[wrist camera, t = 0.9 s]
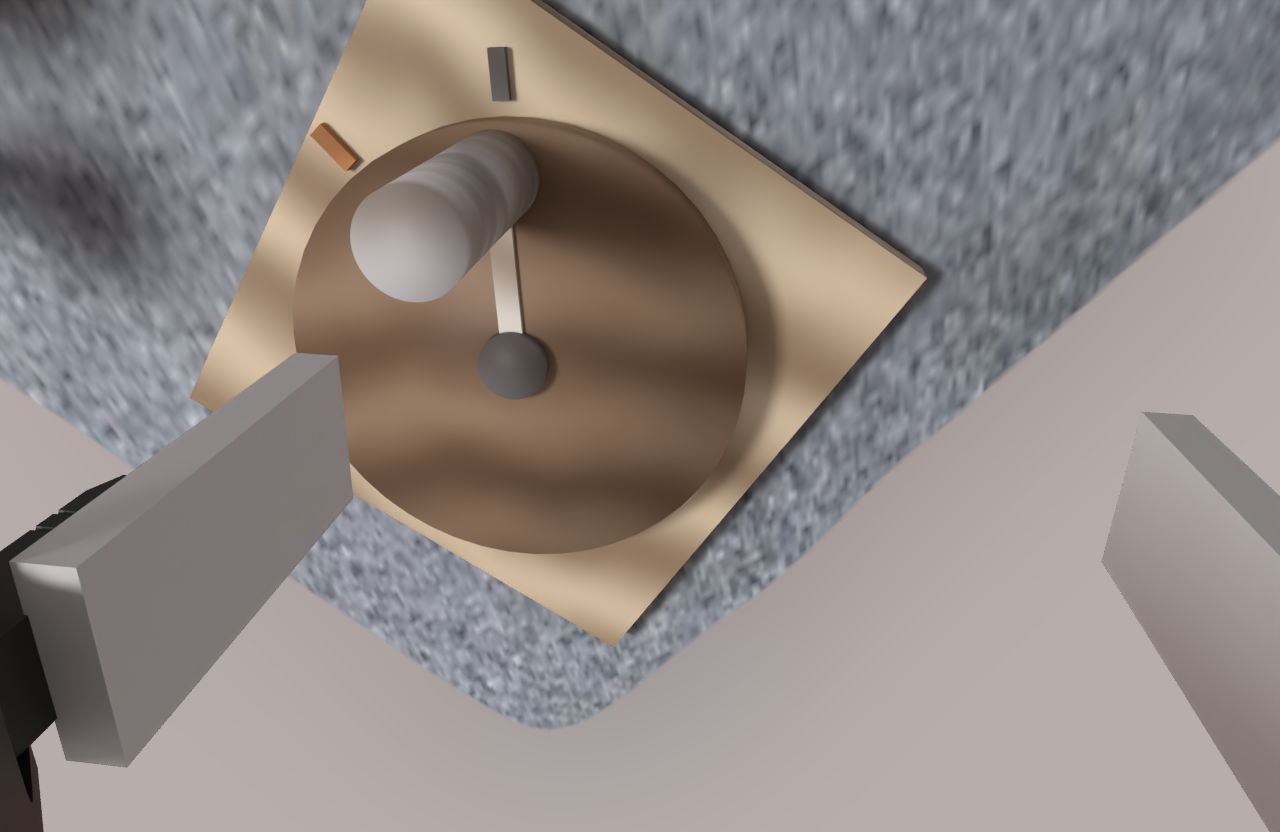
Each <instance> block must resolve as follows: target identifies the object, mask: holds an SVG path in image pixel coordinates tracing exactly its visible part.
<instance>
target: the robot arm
mask: <svg viewBox="0 0 1280 832" xmlns="http://www.w3.org/2000/svg"><path fill="white" fill-rule="evenodd" d="M352 499H353V489H352V480H351V471H350V462H349V453H348V444H347V435H346V425H345V416H344V407H343V398H342V389H341V380H340V370H339V361H338V356H335V355H320V354H306V353H294V354H293V355H291V356H290V357H288V358H287V359H286V360H284V361H283V362H282V363H280V364H279V365H277V366H276V367H275V368H273V369H272V370H271V371H269V372H268V373H267V374H265V375H264V376H262V377H261V378H260V379H258V380H257V381H256V382H254V383H253V384H251V385H250V386H249V387H247V388H246V389H245V390H243V391H242V392H240V393H239V394H238V395H236V396H235V397H234V398H232V399H231V400H230V401H228V402H227V403H225V404H224V405H223V406H221V407H220V408H219V409H217V410H216V411H214V412H213V413H212V414H210V415H209V416H208V417H206V418H205V419H203V420H202V421H201V422H199V423H198V424H197V425H195V426H194V427H193V428H191V429H190V430H188V431H187V432H186V433H184V434H183V435H182V436H180V437H179V438H177V439H176V440H175V441H173V442H172V443H171V444H169V445H168V446H166V447H165V448H164V449H162V450H161V451H160V452H158V453H157V454H155V455H154V456H153V457H151V458H150V459H149V460H147V461H146V462H145V463H143V464H142V465H140V466H139V467H138V468H136V469H135V470H134V471H132V472H131V473H130V474H128V475H122V476H120V477H117V478H115V479H113V480H110V481H108V482H106V483H103V484H101V485H99V486H96V487H94V488H92V489H89V490H87V491H85V492H84V493H82V494H81V495H79V496H78V497H76V498H75V499H74V500H72V501H71V502H69V503H68V504H67V505H65V506H64V507H63V508H61V509H60V510H59V513H58V514H52V515H51V516H50V517H48V518H47V519H46V520H44V521H43V522H41V523H40V524H38V525H37V526H36V530H35V531H34V530H30V531H28V532H27V533H26V534H24V535H23V536H21V537H20V538H19V539H17V540H16V541H14V542H13V543H11V544H10V545H9V546H7V547H6V548H4V549H3V550H2V551H0V832H43V821H42V810H41V801H40V800H41V799H40V789H39V779H38V768H37V764H36V761H35V758H34V755H33V751H32V748H31V744H32V743H33V742H34V741H35V740H36V739H37V738H38V737H39V736H40V735H41V734H42V733H43V732H44V731H45V730H46V729H47V728H48V727H49V726H50V725H51V724H52V723H53V722H54V721H55V723H56V727H57V730H58V734H59V737H60V741H61V744H62V748H63V751H64V755H65V758H66V760H67V761H76V762H85V763H93V764H102V765H110V766H118V767H128V766H129V764H130V763H131V762H132V761H133V760H134V758H135V757H136V756H137V755H138V754H139V753H140V751H141V750H142V749H143V748H144V747H145V745H146V744H147V743H148V742H149V741H150V739H151V738H152V737H153V736H154V735H155V734H156V732H157V731H158V730H159V729H160V728H161V726H162V725H163V724H164V723H165V722H166V720H167V719H168V718H169V717H170V716H171V715H172V713H173V712H174V711H175V710H176V708H177V707H178V706H179V705H180V704H181V703H182V701H183V700H184V699H185V698H186V697H187V695H188V694H189V693H190V692H191V691H192V689H193V688H194V687H195V686H196V685H197V683H198V682H199V681H200V680H201V679H202V677H203V676H204V675H205V674H206V673H207V672H208V670H209V669H210V668H211V667H212V666H213V664H214V663H215V662H216V661H217V660H218V659H219V657H220V656H221V655H222V654H223V653H224V651H225V650H226V649H227V648H228V647H229V645H230V644H231V643H232V642H233V641H234V639H235V638H236V637H237V636H238V635H239V634H240V632H241V631H242V630H243V629H244V627H245V626H246V625H247V624H248V623H249V622H250V620H251V619H252V618H253V617H254V616H255V614H256V613H257V612H258V611H259V610H260V609H261V607H262V606H263V605H264V604H265V602H266V601H267V600H268V599H269V598H270V597H271V595H272V594H273V593H274V592H275V590H276V589H277V588H278V587H279V586H280V585H281V583H282V582H283V581H284V580H285V579H286V578H287V576H288V575H289V574H290V573H291V572H292V570H293V569H294V568H295V567H296V566H297V564H298V563H299V562H300V561H301V560H302V558H303V557H304V556H305V555H306V554H307V553H308V551H309V550H310V549H311V548H312V547H313V545H314V544H315V543H316V542H317V541H318V539H319V538H320V537H321V536H322V535H323V533H324V532H325V531H326V530H327V529H328V528H329V526H330V525H331V524H332V523H333V522H334V520H335V519H336V518H337V517H338V516H339V514H340V513H341V512H342V511H343V510H344V508H345V507H346V506H347V505H348V504H349V503H350V501H351V500H352ZM1102 563H1103V565H1104V566H1105V568H1106V570H1107V571H1108V573H1109V574H1110V576H1111V577H1112V579H1113V581H1114V582H1115V584H1116V585H1117V587H1118V589H1119V590H1120V592H1121V594H1122V595H1123V597H1124V598H1125V600H1126V601H1127V603H1128V605H1129V607H1130V608H1131V610H1132V611H1133V613H1134V615H1135V616H1136V618H1137V619H1138V621H1139V622H1140V624H1141V626H1142V627H1143V629H1144V631H1145V632H1146V634H1147V635H1148V637H1149V639H1150V640H1151V642H1152V643H1153V645H1154V647H1155V648H1156V650H1157V652H1158V653H1159V655H1160V656H1161V658H1162V659H1163V661H1164V663H1165V664H1166V666H1167V668H1168V669H1169V671H1170V672H1171V674H1172V676H1173V677H1174V679H1175V680H1176V682H1177V684H1178V685H1179V687H1180V688H1181V690H1182V692H1183V693H1184V695H1185V697H1186V698H1187V700H1188V701H1189V703H1190V704H1191V706H1192V708H1193V709H1194V711H1195V713H1196V714H1197V716H1198V717H1199V719H1200V720H1201V722H1202V724H1203V725H1204V727H1205V729H1206V730H1207V732H1208V733H1209V735H1210V736H1211V738H1212V740H1213V742H1214V743H1215V745H1216V746H1217V748H1218V750H1219V751H1220V753H1221V754H1222V756H1223V757H1224V759H1225V761H1226V762H1227V764H1228V765H1229V767H1230V769H1231V770H1232V772H1233V774H1234V775H1235V777H1236V778H1237V780H1238V782H1239V783H1240V785H1241V787H1242V788H1243V790H1244V791H1245V793H1246V794H1247V796H1248V798H1249V799H1250V801H1251V802H1252V804H1253V806H1254V807H1255V809H1256V811H1257V812H1258V814H1259V815H1260V817H1261V819H1262V820H1263V822H1264V823H1265V825H1266V827H1267V828H1268V830H1269V831H1270V832H1280V496H1279V495H1278V494H1277V493H1276V492H1275V491H1274V490H1273V489H1272V488H1271V487H1269V486H1268V485H1267V484H1266V483H1265V482H1264V481H1263V480H1262V479H1261V478H1260V477H1259V476H1258V475H1257V474H1255V473H1254V472H1253V471H1252V470H1251V469H1250V468H1249V467H1248V466H1247V465H1246V464H1245V463H1244V462H1242V461H1241V460H1240V459H1239V458H1238V457H1237V456H1236V455H1235V454H1234V453H1233V452H1232V451H1231V450H1230V449H1228V448H1227V447H1226V446H1225V445H1224V444H1223V443H1222V442H1221V441H1220V440H1219V439H1218V438H1217V437H1215V435H1214V434H1212V433H1211V432H1210V431H1209V430H1208V429H1207V428H1206V427H1205V426H1204V425H1203V424H1202V423H1201V422H1199V421H1198V420H1197V419H1196V418H1195V417H1194V416H1191V415H1179V414H1164V413H1150V412H1142V414H1141V417H1140V421H1139V424H1138V428H1137V432H1136V436H1135V439H1134V443H1133V447H1132V450H1131V454H1130V458H1129V462H1128V465H1127V469H1126V473H1125V476H1124V480H1123V484H1122V488H1121V491H1120V495H1119V499H1118V502H1117V507H1116V510H1115V514H1114V517H1113V521H1112V525H1111V529H1110V533H1109V536H1108V540H1107V543H1106V547H1105V551H1104V555H1103V558H1102Z"/></svg>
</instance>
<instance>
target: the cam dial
mask: <svg viewBox="0 0 1280 832" xmlns="http://www.w3.org/2000/svg"><path fill="white" fill-rule="evenodd" d="M293 328H294V339H295V345H296V352H297V353H306V354H320V355H335V356H338V361H339V370H340V380H341V389H342V398H343V407H344V416H345V425H346V435H347V444H348V453H349V462H350V463H351V465H352V466H353V467H354V468H355V469H356V470H357V471H358V472H359V473H360V474H361V476H362V477H363V478H364V479H365V480H366V481H367V482H369V483H370V484H371V485H372V486H373V487H374V488H375V489H376V490H378V491H379V492H380V493H381V494H382V495H383V496H384V497H385V498H387V499H388V500H390V501H391V502H392V503H394V504H395V505H397V506H398V507H399V508H401V509H402V510H404V511H405V512H406V513H408V514H410V515H411V516H413V517H415V518H417V519H418V520H420V521H422V522H424V523H425V524H427V525H429V526H431V527H433V528H435V529H437V530H440V531H442V532H444V533H446V534H449V535H451V536H453V537H456V538H458V539H461V540H464V541H468V542H471V543H474V544H477V545H480V546H484V547H489V548H494V549H498V550H503V551H508V552H518V553H529V554H563V553H571V552H579V551H586V550H591V549H595V548H599V547H603V546H607V545H610V544H614V543H616V542H619V541H622V540H624V539H627V538H629V537H632V536H634V535H637V534H639V533H641V532H642V531H644V530H646V529H648V528H650V527H652V526H653V525H655V524H657V523H659V522H661V521H662V520H663V519H665V518H666V517H667V516H669V515H670V514H671V513H673V512H674V511H676V510H677V509H678V508H680V507H681V506H682V505H683V504H684V503H685V502H686V501H687V500H688V499H689V498H690V497H691V496H692V495H693V494H694V493H695V492H696V491H697V490H698V489H699V488H700V487H701V486H702V485H703V483H704V482H705V481H706V479H707V478H708V477H709V476H710V474H711V473H712V472H713V470H714V469H715V468H716V466H717V464H718V462H719V461H720V459H721V457H722V455H723V454H724V452H725V450H726V448H727V447H728V445H729V442H730V440H731V437H732V434H733V432H734V429H735V427H736V424H737V422H738V418H739V414H740V410H741V406H742V401H743V397H744V391H745V379H746V367H747V350H748V345H747V328H746V317H745V312H744V307H743V302H742V297H741V292H740V289H739V286H738V283H737V280H736V277H735V274H734V271H733V269H732V266H731V263H730V261H729V259H728V257H727V255H726V253H725V251H724V249H723V247H722V245H721V243H720V241H719V239H718V237H717V235H716V234H715V233H714V231H713V230H712V228H711V227H710V225H709V224H708V222H707V221H706V219H705V218H704V216H703V215H702V214H701V212H700V211H699V209H698V208H697V207H696V206H695V205H694V204H693V203H692V202H691V201H690V199H689V198H688V197H687V196H686V195H685V194H684V193H683V192H682V191H681V189H680V188H679V187H678V186H677V185H676V184H674V183H673V182H672V181H671V180H670V179H669V178H667V177H666V176H665V175H664V174H663V173H662V172H660V171H659V170H658V169H657V168H656V167H655V166H653V165H652V164H650V163H649V162H647V161H646V160H644V159H643V158H641V157H640V156H638V155H637V154H635V153H634V152H632V151H630V150H629V149H627V148H626V147H624V146H622V145H620V144H617V143H615V142H613V141H611V140H609V139H607V138H605V137H603V136H601V135H599V134H597V133H594V132H591V131H588V130H585V129H581V128H578V127H575V126H572V125H569V124H566V123H561V122H556V121H550V120H545V119H540V118H533V117H512V116H498V117H488V118H477V119H470V120H466V121H462V122H457V123H453V124H449V125H445V126H442V127H439V128H437V129H434V130H432V131H429V132H427V133H424V134H422V135H419V136H417V137H415V138H413V139H411V140H409V141H407V142H405V143H403V144H401V145H399V146H397V147H395V148H394V149H392V150H390V151H388V152H387V153H385V154H383V155H382V156H380V157H378V158H377V159H375V160H373V161H372V162H371V163H369V164H368V165H367V166H366V167H365V168H363V169H362V170H361V171H360V172H358V173H357V174H356V175H355V176H354V177H352V178H351V179H350V180H349V181H348V182H347V183H346V184H345V186H344V187H343V188H342V189H341V190H340V191H339V192H338V193H337V195H336V196H335V197H334V198H333V199H332V200H331V201H330V203H329V204H328V206H327V208H326V209H325V211H324V212H323V214H322V215H321V217H320V218H319V220H318V222H317V223H316V225H315V227H314V229H313V231H312V233H311V236H310V238H309V240H308V243H307V245H306V247H305V249H304V252H303V256H302V259H301V263H300V267H299V270H298V274H297V278H296V286H295V294H294V302H293Z"/></svg>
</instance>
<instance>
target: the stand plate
mask: <svg viewBox="0 0 1280 832" xmlns="http://www.w3.org/2000/svg"><path fill="white" fill-rule="evenodd" d="M498 116H512V117H533V118H540V119H545V120H550V121H556V122H561V123H566V124H569V125H572V126H575V127H578V128H581V129H585V130H588V131H591V132H594V133H597V134H599V135H601V136H603V137H605V138H607V139H609V140H611V141H613V142H615V143H617V144H620V145H622V146H624V147H626V148H627V149H629V150H630V151H632V152H634V153H635V154H637V155H638V156H640V157H641V158H643V159H644V160H646V161H647V162H649V163H650V164H652V165H653V166H655V167H656V168H657V169H658V170H659V171H660V172H662V173H663V174H664V175H665V176H666V177H667V178H669V179H670V180H671V181H672V182H673V183H674V184H676V185H677V186H678V187H679V188H680V189H681V191H682V192H683V193H684V194H685V195H686V196H687V197H688V198H689V199H690V201H691V202H692V203H693V204H694V205H695V206H696V207H697V208H698V209H699V211H700V212H701V214H702V215H703V216H704V218H705V219H706V221H707V222H708V224H709V225H710V227H711V228H712V230H713V231H714V233H715V234H716V235H717V237H718V239H719V241H720V243H721V245H722V247H723V249H724V251H725V253H726V255H727V257H728V259H729V261H730V263H731V266H732V269H733V271H734V274H735V277H736V280H737V283H738V286H739V289H740V292H741V297H742V302H743V307H744V312H745V317H746V328H747V345H748V350H747V367H746V379H745V391H744V397H743V401H742V406H741V410H740V414H739V418H738V422H737V424H736V427H735V429H734V432H733V434H732V437H731V440H730V442H729V445H728V447H727V448H726V450H725V452H724V454H723V455H722V457H721V459H720V461H719V462H718V464H717V466H716V468H715V469H714V470H713V472H712V473H711V474H710V476H709V477H708V478H707V479H706V481H705V482H704V483H703V485H702V486H701V487H700V488H699V489H698V490H697V491H696V492H695V493H694V494H693V495H692V496H691V497H690V498H689V499H688V500H687V501H686V502H685V503H684V504H683V505H682V506H681V507H680V508H678V509H677V510H676V511H674V512H673V513H671V514H670V515H669V516H667V517H666V518H665V519H663V520H662V521H661V522H659V523H657V524H655V525H653V526H652V527H650V528H648V529H646V530H644V531H642V532H641V533H639V534H637V535H634V536H632V537H629V538H627V539H624V540H622V541H619V542H616V543H614V544H610V545H607V546H603V547H599V548H595V549H591V550H586V551H579V552H571V553H563V554H529V553H518V552H508V551H503V550H498V549H494V548H489V547H484V546H480V545H477V544H474V543H471V542H468V541H464V540H461V539H458V538H456V537H453V536H451V535H449V534H446V533H444V532H442V531H440V530H437V529H435V528H433V527H431V526H429V525H427V524H425V523H424V522H422V521H420V520H418V519H417V518H415V517H413V516H411V515H410V514H408V513H406V512H405V511H404V510H402V509H401V508H399V507H398V506H397V505H395V504H394V503H392V502H391V501H390V500H388V499H387V498H385V497H384V496H383V495H382V494H381V493H380V492H379V491H378V490H376V489H375V488H374V487H373V486H372V485H371V484H370V483H369V482H367V481H366V480H365V479H364V478H363V477H362V476H361V474H360V473H359V472H358V471H357V470H356V469H355V468H354V467H353V466H352V465H351V463H350V471H351V480H352V489H353V494H354V495H356V496H358V497H359V498H361V499H363V500H365V501H366V502H368V503H370V504H371V505H373V506H375V507H376V508H378V509H380V510H381V511H383V512H385V513H387V514H388V515H390V516H392V517H393V518H395V519H397V520H398V521H400V522H402V523H404V524H405V525H407V526H409V527H410V528H412V529H414V530H415V531H417V532H419V533H421V534H422V535H424V536H426V537H427V538H429V539H431V540H432V541H434V542H436V543H437V544H439V545H441V546H443V547H444V548H446V549H448V550H449V551H451V552H453V553H454V554H456V555H458V556H460V557H461V558H463V559H465V560H466V561H468V562H470V563H471V564H473V565H475V566H476V567H478V568H480V569H482V570H483V571H485V572H487V573H488V574H490V575H492V576H493V577H495V578H497V579H499V580H500V581H502V582H504V583H505V584H507V585H509V586H510V587H512V588H514V589H516V590H517V591H519V592H521V593H522V594H524V595H526V596H527V597H529V598H531V599H532V600H534V601H536V602H538V603H539V604H541V605H543V606H544V607H546V608H548V609H549V610H551V611H553V612H555V613H556V614H558V615H560V616H561V617H563V618H565V619H566V620H568V621H570V622H572V623H573V624H575V625H577V626H578V627H580V628H582V629H583V630H585V631H587V632H588V633H590V634H592V635H594V636H595V637H597V638H599V639H600V640H602V641H604V642H605V643H607V644H609V645H611V646H612V647H614V646H615V645H616V643H617V642H618V641H619V640H620V639H621V638H622V636H623V635H624V634H625V633H626V632H627V631H628V629H629V628H630V627H631V626H632V625H633V623H634V622H635V621H636V620H637V619H638V618H639V616H640V615H641V614H642V613H643V612H644V611H645V609H646V608H647V607H648V606H649V605H650V603H651V602H652V601H653V600H654V599H655V598H656V596H657V595H658V594H659V593H660V592H661V591H662V589H663V588H664V587H665V586H666V585H667V583H668V582H669V581H670V580H671V579H672V578H673V576H674V575H675V574H676V573H677V572H678V571H679V569H680V568H681V567H682V566H683V565H684V563H685V562H686V561H687V560H688V559H689V558H690V556H691V555H692V554H693V553H694V552H695V551H696V549H697V548H698V547H699V546H700V545H701V543H702V542H703V541H704V540H705V539H706V538H707V536H708V535H709V534H710V533H711V532H712V531H713V529H714V528H715V527H716V526H717V525H718V524H719V522H720V521H721V520H722V519H723V518H724V516H725V515H726V514H727V513H728V512H729V511H730V509H731V508H732V507H733V506H734V505H735V504H736V502H737V501H738V500H739V499H740V498H741V496H742V495H743V494H744V493H745V492H746V491H747V489H748V488H749V487H750V486H751V485H752V484H753V482H754V481H755V480H756V479H757V478H758V476H759V475H760V474H761V473H762V472H763V471H764V469H765V468H766V467H767V466H768V465H769V464H770V462H771V461H772V460H773V459H774V458H775V456H776V455H777V454H778V453H779V452H780V451H781V449H782V448H783V447H784V446H785V445H786V444H787V442H788V441H789V440H790V439H791V438H792V436H793V435H794V434H795V433H796V432H797V431H798V429H799V428H800V427H801V426H802V425H803V424H804V422H805V421H806V420H807V419H808V418H809V416H810V415H811V414H812V413H813V412H814V411H815V409H816V408H817V407H818V406H819V405H820V404H821V402H822V401H823V400H824V399H825V398H826V396H827V395H828V394H829V393H830V392H831V391H832V389H833V388H834V387H835V386H836V385H837V384H838V382H839V381H840V380H841V379H842V378H843V376H844V375H845V374H846V373H847V372H848V371H849V369H850V368H851V367H852V366H853V365H854V364H855V362H856V361H857V360H858V359H859V358H860V356H861V355H862V354H863V353H864V352H865V351H866V349H867V348H868V347H869V346H870V345H871V344H872V342H873V341H874V340H875V339H876V338H877V336H878V335H879V334H880V333H881V332H882V331H883V329H884V328H885V327H886V326H887V325H888V324H889V322H890V321H891V320H892V319H893V318H894V316H895V315H896V314H897V313H898V312H899V311H900V309H901V308H902V307H903V306H904V305H905V304H906V302H907V301H908V300H909V299H910V298H911V296H912V295H913V294H914V293H915V292H916V291H917V289H918V288H919V287H920V286H921V285H922V284H923V282H924V281H925V280H926V279H927V277H926V275H925V273H924V271H923V269H922V267H920V266H919V265H917V264H916V263H914V262H913V261H912V260H910V259H909V258H907V257H906V256H904V255H903V254H902V253H900V252H899V251H897V250H896V249H895V248H893V247H892V246H890V245H889V244H887V243H886V242H885V241H883V240H882V239H880V238H879V237H877V236H876V235H875V234H873V233H872V232H870V231H869V230H867V229H866V228H865V227H863V226H862V225H860V224H859V223H857V222H856V221H855V220H853V219H852V218H850V217H849V216H848V215H846V214H845V213H843V212H842V211H840V210H839V209H838V208H836V207H835V206H833V205H832V204H830V203H829V202H828V201H826V200H825V199H823V198H822V197H820V196H819V195H818V194H816V193H815V192H813V191H812V190H810V189H809V188H808V187H806V186H805V185H803V184H802V183H800V182H799V181H798V180H796V179H795V178H793V177H792V176H791V175H789V174H788V173H786V172H785V171H783V170H782V169H781V168H779V167H778V166H776V165H775V164H773V163H772V162H771V161H769V160H768V159H766V158H765V157H763V156H762V155H761V154H759V153H758V152H756V151H755V150H753V149H752V148H751V147H749V146H748V145H746V144H745V143H743V142H742V141H741V140H739V139H738V138H736V137H735V136H734V135H732V134H731V133H729V132H728V131H726V130H725V129H724V128H722V127H721V126H719V125H718V124H716V123H715V122H714V121H712V120H711V119H709V118H708V117H706V116H705V115H704V114H702V113H701V112H699V111H698V110H696V109H695V108H694V107H692V106H691V105H689V104H688V103H687V102H685V101H684V100H682V99H681V98H679V97H678V96H677V95H675V94H674V93H672V92H671V91H669V90H668V89H667V88H665V87H664V86H662V85H661V84H659V83H658V82H657V81H655V80H654V79H652V78H651V77H649V76H648V75H647V74H645V73H644V72H642V71H641V70H639V69H638V68H637V67H635V66H634V65H632V64H631V63H630V62H628V61H627V60H625V59H624V58H622V57H621V56H620V55H618V54H617V53H615V52H614V51H612V50H611V49H610V48H608V47H607V46H605V45H604V44H602V43H601V42H600V41H598V40H597V39H595V38H594V37H592V36H591V35H590V34H588V33H587V32H585V31H584V30H582V29H581V28H580V27H578V26H577V25H575V24H574V23H573V22H571V21H570V20H568V19H567V18H565V17H564V16H563V15H561V14H560V13H558V12H557V11H555V10H554V9H553V8H551V7H550V6H548V5H547V4H545V3H544V2H543V1H541V0H367V1H366V3H365V6H364V8H363V10H362V12H361V15H360V17H359V19H358V21H357V24H356V26H355V28H354V30H353V32H352V35H351V37H350V39H349V41H348V44H347V46H346V48H345V50H344V53H343V55H342V57H341V59H340V62H339V64H338V66H337V68H336V71H335V73H334V75H333V77H332V80H331V82H330V84H329V86H328V89H327V91H326V93H325V95H324V98H323V100H322V102H321V104H320V107H319V109H318V111H317V113H316V115H315V118H314V120H313V122H312V124H311V127H310V129H309V131H308V133H307V136H306V138H305V140H304V142H303V145H302V147H301V149H300V151H299V154H298V156H297V158H296V160H295V163H294V165H293V167H292V169H291V172H290V174H289V176H288V178H287V181H286V183H285V185H284V187H283V190H282V192H281V194H280V196H279V198H278V201H277V203H276V205H275V207H274V210H273V212H272V214H271V216H270V219H269V221H268V223H267V225H266V228H265V230H264V232H263V234H262V237H261V239H260V241H259V243H258V246H257V248H256V250H255V252H254V255H253V257H252V259H251V261H250V264H249V266H248V268H247V270H246V273H245V275H244V277H243V279H242V281H241V284H240V286H239V288H238V290H237V293H236V295H235V297H234V299H233V302H232V304H231V306H230V308H229V311H228V313H227V315H226V317H225V320H224V322H223V324H222V326H221V329H220V331H219V333H218V335H217V338H216V340H215V342H214V344H213V347H212V349H211V351H210V353H209V356H208V358H207V360H206V362H205V365H204V367H203V369H202V371H201V373H200V376H199V378H198V380H197V382H196V385H195V387H194V389H193V391H192V394H191V396H190V398H191V399H193V400H195V401H197V402H198V403H200V404H202V405H203V406H205V407H207V408H208V409H210V410H212V411H216V410H217V409H219V408H220V407H221V406H223V405H224V404H225V403H227V402H228V401H230V400H231V399H232V398H234V397H235V396H236V395H238V394H239V393H240V392H242V391H243V390H245V389H246V388H247V387H249V386H250V385H251V384H253V383H254V382H256V381H257V380H258V379H260V378H261V377H262V376H264V375H265V374H267V373H268V372H269V371H271V370H272V369H273V368H275V367H276V366H277V365H279V364H280V363H282V362H283V361H284V360H286V359H287V358H288V357H290V356H291V355H293V354H294V353H297V352H296V345H295V339H294V328H293V302H294V294H295V286H296V278H297V274H298V270H299V267H300V263H301V259H302V256H303V252H304V249H305V247H306V245H307V243H308V240H309V238H310V236H311V233H312V231H313V229H314V227H315V225H316V223H317V222H318V220H319V218H320V217H321V215H322V214H323V212H324V211H325V209H326V208H327V206H328V204H329V203H330V201H331V200H332V199H333V198H334V197H335V196H336V195H337V193H338V192H339V191H340V190H341V189H342V188H343V187H344V186H345V184H346V183H347V182H348V181H349V180H350V179H351V178H352V177H354V176H355V175H356V174H357V173H358V172H360V171H361V170H362V169H363V168H365V167H366V166H367V165H368V164H369V163H371V162H372V161H373V160H375V159H377V158H378V157H380V156H382V155H383V154H385V153H387V152H388V151H390V150H392V149H394V148H395V147H397V146H399V145H401V144H403V143H405V142H407V141H409V140H411V139H413V138H415V137H417V136H419V135H422V134H424V133H427V132H429V131H432V130H434V129H437V128H439V127H442V126H445V125H449V124H453V123H457V122H462V121H466V120H470V119H477V118H488V117H498Z"/></svg>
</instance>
